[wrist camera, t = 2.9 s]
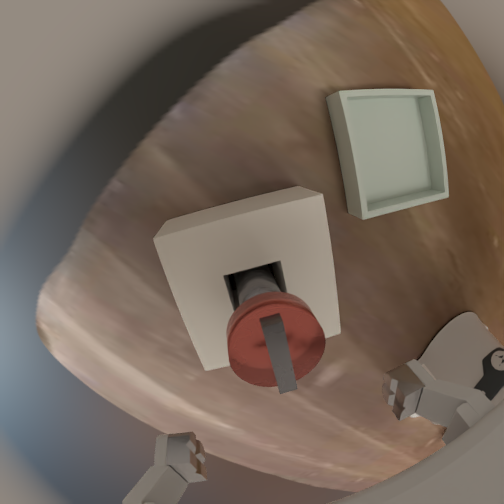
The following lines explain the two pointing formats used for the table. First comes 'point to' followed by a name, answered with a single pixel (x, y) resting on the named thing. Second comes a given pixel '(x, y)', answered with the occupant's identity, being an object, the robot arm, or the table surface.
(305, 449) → the table surface
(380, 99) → the tray
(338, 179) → the table surface
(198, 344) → the block
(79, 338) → the table surface
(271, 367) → the red disc rod
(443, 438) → the robot arm
